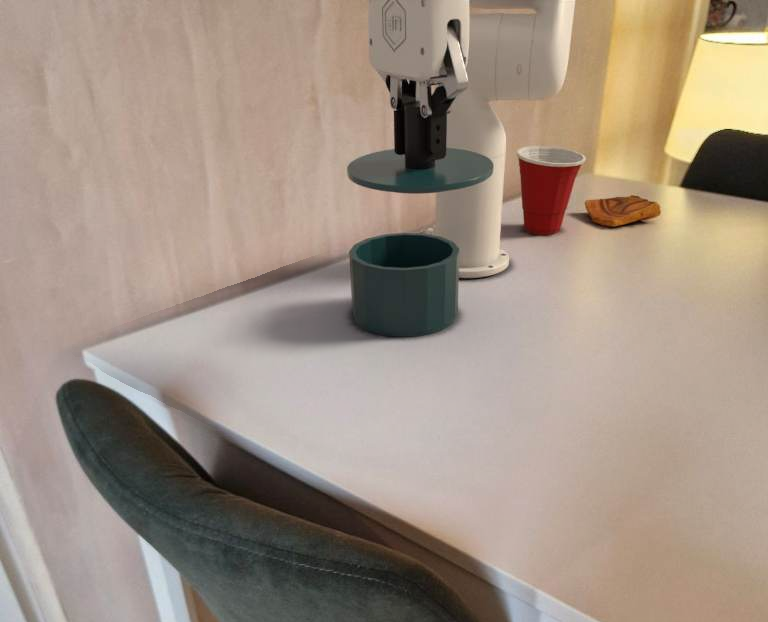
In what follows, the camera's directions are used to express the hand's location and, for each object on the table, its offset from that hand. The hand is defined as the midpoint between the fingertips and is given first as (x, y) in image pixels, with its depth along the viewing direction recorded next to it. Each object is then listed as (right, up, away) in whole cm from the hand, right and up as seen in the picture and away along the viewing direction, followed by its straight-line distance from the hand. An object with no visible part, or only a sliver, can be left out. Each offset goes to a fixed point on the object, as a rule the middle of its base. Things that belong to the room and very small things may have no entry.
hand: (420, 154), depth 75 cm
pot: (-1, -9, +25) cm, 27 cm away
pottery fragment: (+36, +15, +55) cm, 67 cm away
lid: (0, -1, +1) cm, 2 cm away
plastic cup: (+23, +11, +51) cm, 57 cm away
